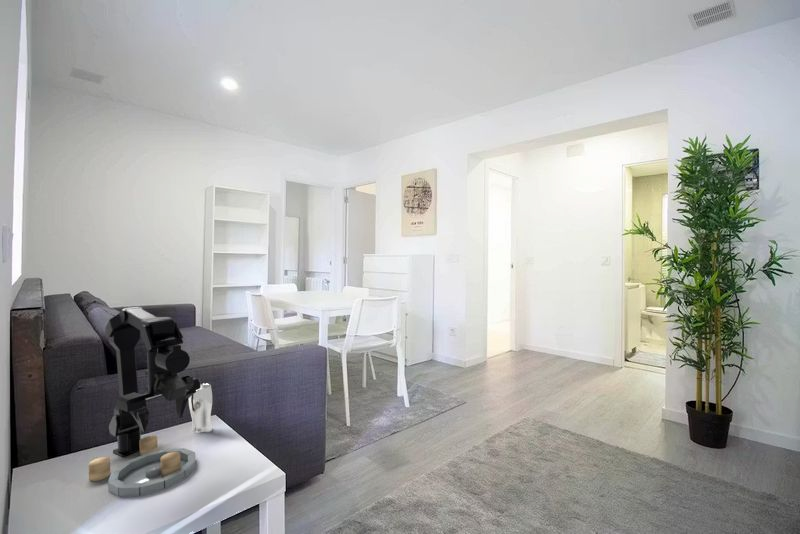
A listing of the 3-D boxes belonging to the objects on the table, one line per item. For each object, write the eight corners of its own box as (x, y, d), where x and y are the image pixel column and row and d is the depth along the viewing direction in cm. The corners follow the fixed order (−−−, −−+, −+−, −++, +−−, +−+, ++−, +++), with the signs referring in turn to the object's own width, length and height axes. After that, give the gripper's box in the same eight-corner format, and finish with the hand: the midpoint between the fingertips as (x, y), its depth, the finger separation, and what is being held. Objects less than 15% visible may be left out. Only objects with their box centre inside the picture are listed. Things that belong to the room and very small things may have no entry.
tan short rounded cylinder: (157, 477, 99) (156, 458, 99) (175, 468, 103) (174, 450, 103) (167, 481, 97) (166, 462, 97) (184, 473, 101) (183, 454, 100)
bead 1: (86, 482, 99) (85, 463, 99) (105, 473, 103) (105, 455, 103) (93, 486, 97) (93, 467, 97) (113, 478, 101) (112, 459, 101)
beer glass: (191, 429, 129) (189, 385, 129) (214, 425, 132) (212, 382, 132) (188, 438, 123) (187, 391, 123) (212, 433, 126) (211, 388, 125)
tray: (95, 486, 97) (94, 475, 97) (171, 452, 114) (171, 442, 114) (133, 509, 88) (133, 496, 88) (210, 468, 104) (210, 458, 104)
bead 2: (136, 457, 112) (136, 440, 112) (152, 450, 115) (152, 434, 115) (144, 461, 109) (144, 443, 109) (160, 454, 113) (160, 437, 113)
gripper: (138, 381, 89) (141, 447, 89) (212, 361, 105) (213, 417, 106) (114, 374, 94) (116, 436, 95) (187, 356, 111) (189, 409, 111)
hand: (162, 424), depth 101 cm, fingers open, 9 cm apart
